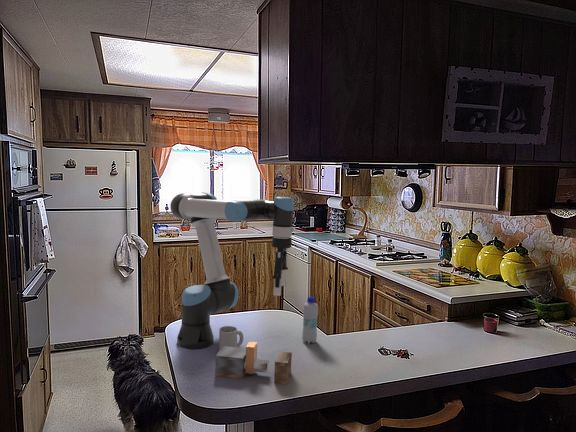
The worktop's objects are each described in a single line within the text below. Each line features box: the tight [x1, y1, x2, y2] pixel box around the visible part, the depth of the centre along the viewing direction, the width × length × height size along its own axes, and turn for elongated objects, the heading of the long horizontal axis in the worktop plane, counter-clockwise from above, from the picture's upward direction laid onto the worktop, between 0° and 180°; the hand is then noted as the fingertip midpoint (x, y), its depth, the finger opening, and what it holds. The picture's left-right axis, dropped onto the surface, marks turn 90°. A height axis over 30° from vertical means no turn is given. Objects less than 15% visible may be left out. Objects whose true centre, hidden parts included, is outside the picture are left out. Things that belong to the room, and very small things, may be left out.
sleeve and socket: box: [214, 346, 293, 385], centre depth 156 cm, size 26×9×8 cm, turn 80°
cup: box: [218, 325, 244, 352], centre depth 175 cm, size 7×10×9 cm
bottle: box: [302, 296, 319, 345], centre depth 187 cm, size 7×7×20 cm
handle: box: [244, 341, 270, 375], centre depth 156 cm, size 18×5×10 cm, turn 80°
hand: (279, 290), depth 169 cm, fingers open, 13 cm apart
